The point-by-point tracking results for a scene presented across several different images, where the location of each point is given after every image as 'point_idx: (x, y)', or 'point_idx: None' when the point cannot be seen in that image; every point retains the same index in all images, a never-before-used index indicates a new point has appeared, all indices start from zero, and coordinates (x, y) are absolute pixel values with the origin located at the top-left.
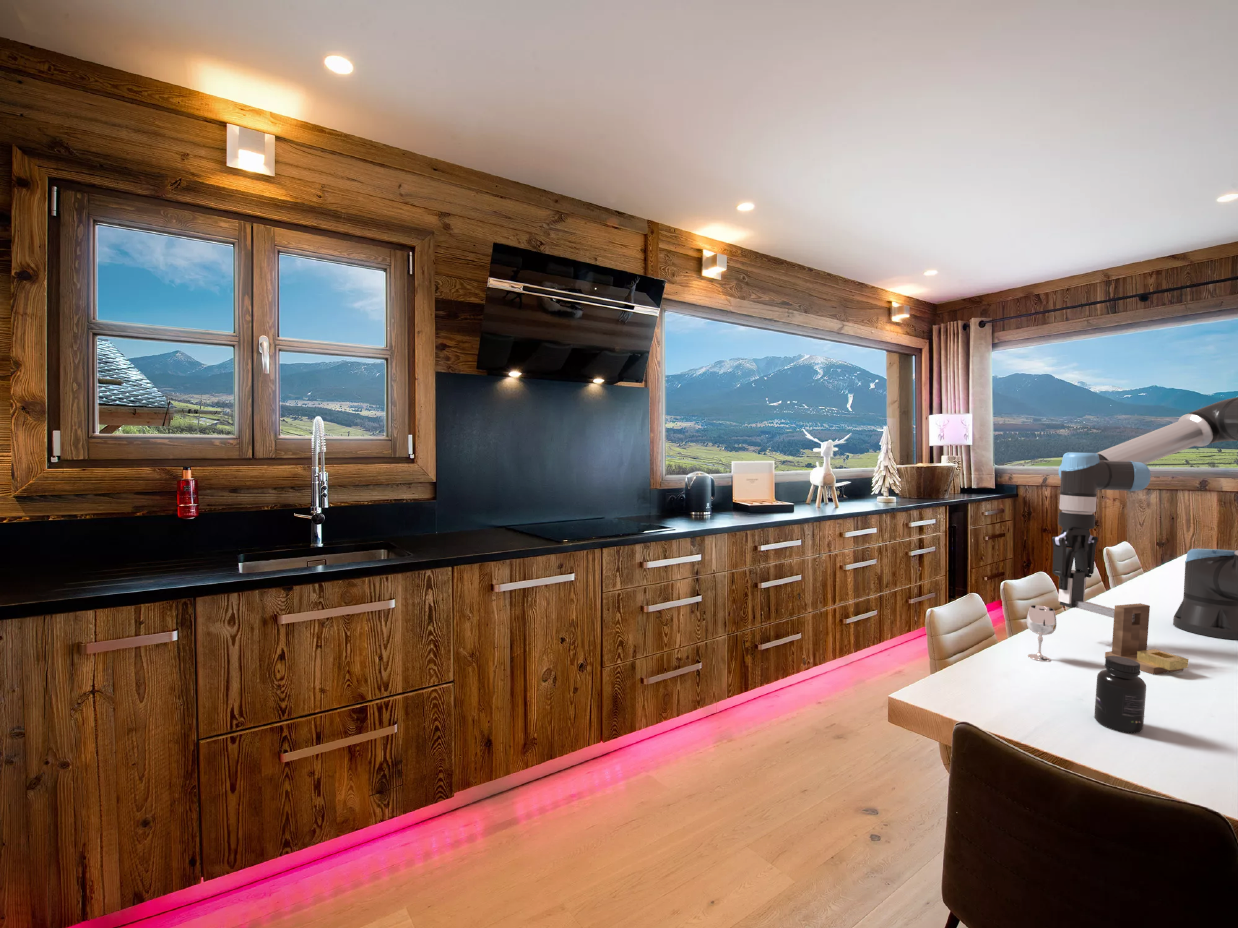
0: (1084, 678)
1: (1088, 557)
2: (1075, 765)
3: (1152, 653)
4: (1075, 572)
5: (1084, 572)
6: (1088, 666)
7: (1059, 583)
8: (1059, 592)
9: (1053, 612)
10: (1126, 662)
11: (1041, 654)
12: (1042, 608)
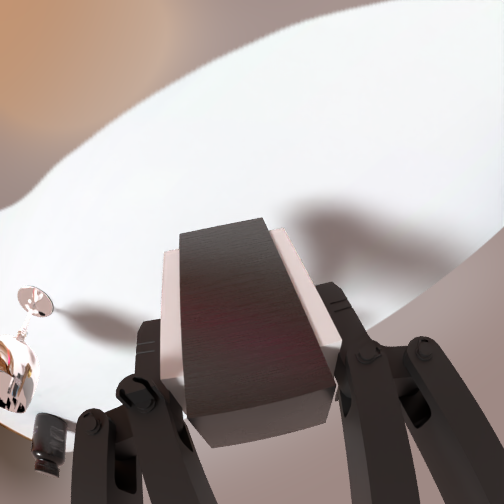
0: (70, 366)
1: (442, 468)
2: (8, 428)
3: None
4: (250, 436)
5: (323, 422)
6: (108, 337)
7: (137, 354)
8: (163, 287)
9: (22, 410)
10: (48, 475)
11: (34, 310)
12: (8, 385)
